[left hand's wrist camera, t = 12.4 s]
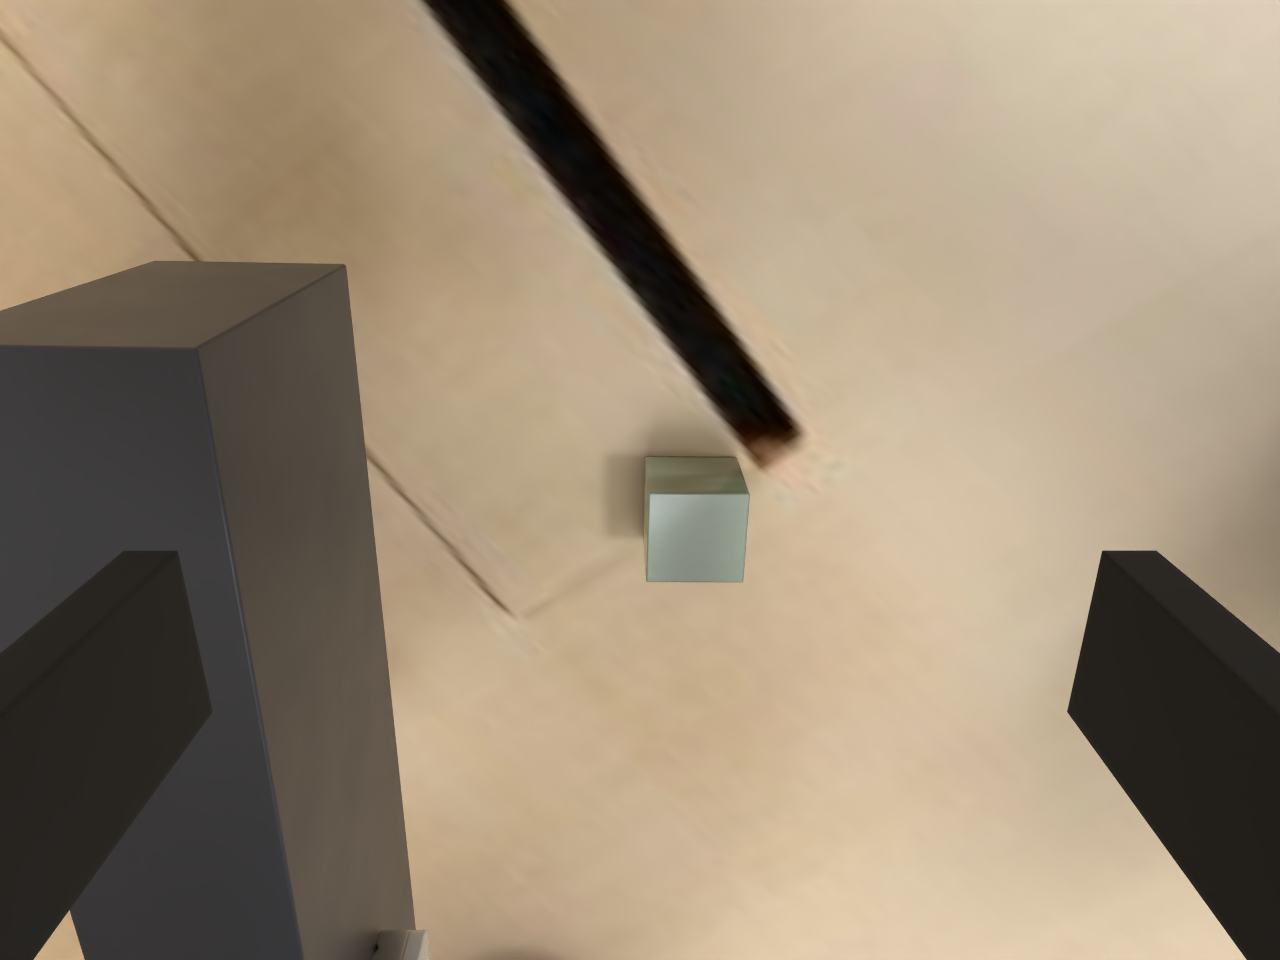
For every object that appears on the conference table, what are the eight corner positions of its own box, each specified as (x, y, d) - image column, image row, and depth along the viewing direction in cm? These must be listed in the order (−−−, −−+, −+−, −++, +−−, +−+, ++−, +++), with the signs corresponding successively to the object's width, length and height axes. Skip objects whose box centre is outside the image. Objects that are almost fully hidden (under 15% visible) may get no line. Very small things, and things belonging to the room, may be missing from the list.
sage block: (737, 457, 39) (750, 493, 35) (731, 539, 40) (743, 582, 36) (645, 456, 38) (648, 492, 35) (643, 538, 40) (646, 582, 36)
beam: (346, 263, 23) (196, 348, 15) (416, 929, 33) (347, 1210, 24) (153, 260, 23) (-107, 343, 15) (278, 930, 32) (161, 1212, 24)
